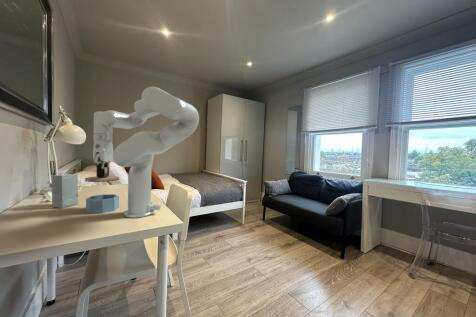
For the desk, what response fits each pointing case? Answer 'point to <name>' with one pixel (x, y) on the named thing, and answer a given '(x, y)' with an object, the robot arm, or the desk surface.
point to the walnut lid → (102, 178)
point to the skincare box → (64, 190)
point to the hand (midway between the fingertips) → (102, 175)
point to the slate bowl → (102, 203)
